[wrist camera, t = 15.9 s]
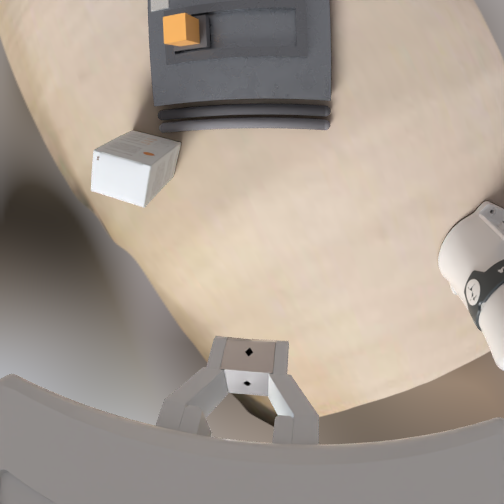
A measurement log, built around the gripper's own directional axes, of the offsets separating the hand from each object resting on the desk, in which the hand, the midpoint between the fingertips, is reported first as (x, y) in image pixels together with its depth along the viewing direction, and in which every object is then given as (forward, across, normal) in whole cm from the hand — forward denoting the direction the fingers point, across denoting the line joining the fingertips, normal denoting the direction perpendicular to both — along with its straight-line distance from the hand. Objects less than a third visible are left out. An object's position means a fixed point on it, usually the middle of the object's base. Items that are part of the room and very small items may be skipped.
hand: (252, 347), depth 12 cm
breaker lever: (+29, +10, -16) cm, 35 cm away
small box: (+31, +18, 0) cm, 36 cm away
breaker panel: (+31, +5, -16) cm, 35 cm away
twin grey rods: (+31, +5, -4) cm, 32 cm away
